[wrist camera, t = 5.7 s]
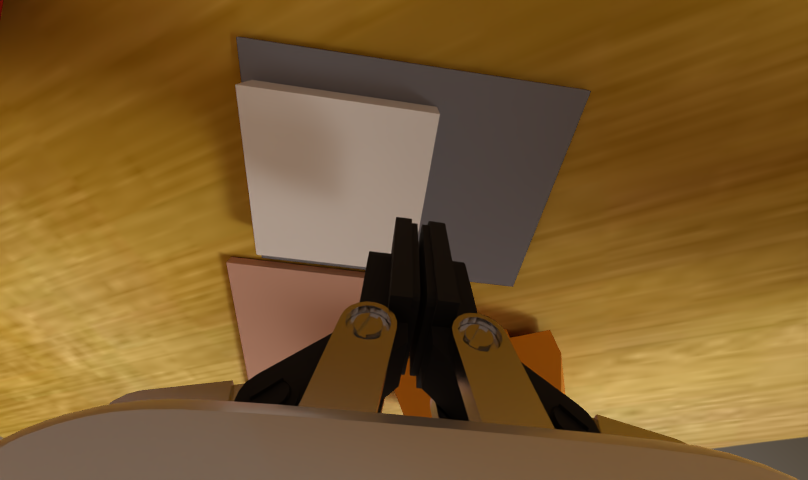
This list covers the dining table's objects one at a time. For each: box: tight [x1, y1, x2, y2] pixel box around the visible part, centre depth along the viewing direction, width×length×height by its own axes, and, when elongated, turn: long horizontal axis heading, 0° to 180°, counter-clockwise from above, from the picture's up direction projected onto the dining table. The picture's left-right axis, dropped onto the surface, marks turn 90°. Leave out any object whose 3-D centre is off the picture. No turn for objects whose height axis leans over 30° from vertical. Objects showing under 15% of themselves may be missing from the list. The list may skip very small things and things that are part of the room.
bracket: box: [395, 329, 565, 418], centre depth 20 cm, size 11×7×12 cm, turn 108°
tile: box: [235, 80, 440, 267], centre depth 16 cm, size 2×8×8 cm
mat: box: [236, 37, 591, 287], centre depth 17 cm, size 15×11×1 cm
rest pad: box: [226, 257, 365, 380], centre depth 23 cm, size 10×14×1 cm
